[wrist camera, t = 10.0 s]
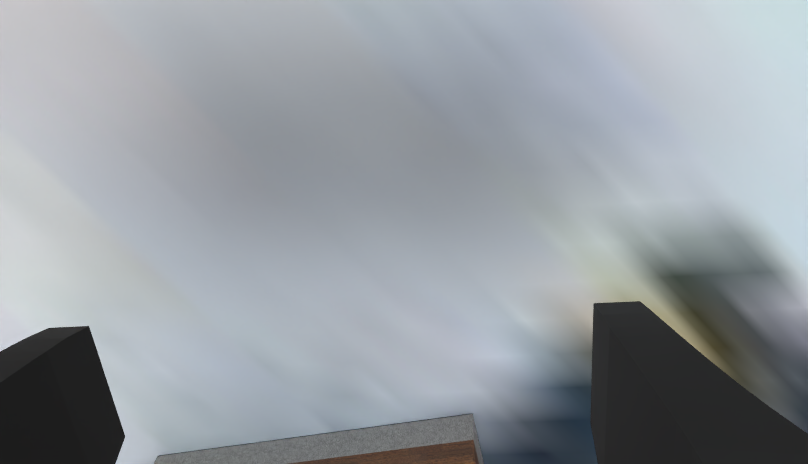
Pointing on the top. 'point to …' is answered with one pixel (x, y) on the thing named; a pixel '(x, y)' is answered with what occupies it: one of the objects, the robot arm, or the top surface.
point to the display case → (356, 446)
